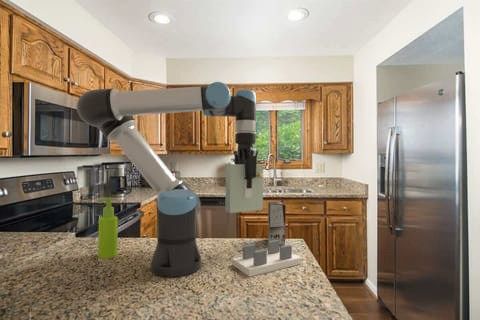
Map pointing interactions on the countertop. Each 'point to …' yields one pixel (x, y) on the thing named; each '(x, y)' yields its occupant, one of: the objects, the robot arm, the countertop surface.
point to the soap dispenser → (107, 231)
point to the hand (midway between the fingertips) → (244, 196)
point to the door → (236, 189)
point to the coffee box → (276, 221)
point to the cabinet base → (266, 259)
